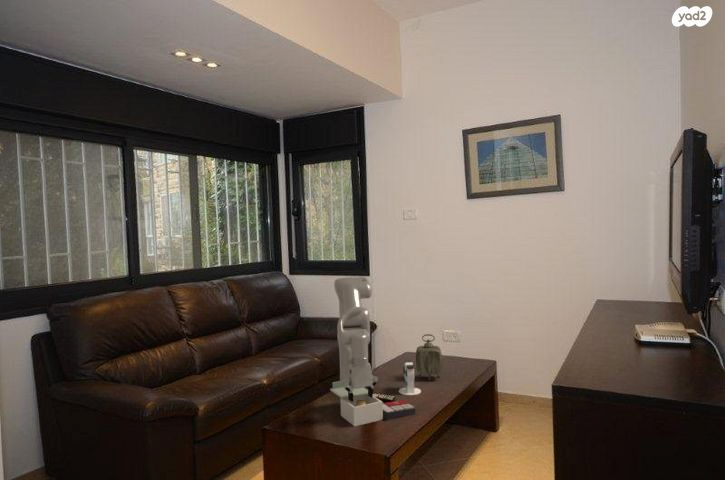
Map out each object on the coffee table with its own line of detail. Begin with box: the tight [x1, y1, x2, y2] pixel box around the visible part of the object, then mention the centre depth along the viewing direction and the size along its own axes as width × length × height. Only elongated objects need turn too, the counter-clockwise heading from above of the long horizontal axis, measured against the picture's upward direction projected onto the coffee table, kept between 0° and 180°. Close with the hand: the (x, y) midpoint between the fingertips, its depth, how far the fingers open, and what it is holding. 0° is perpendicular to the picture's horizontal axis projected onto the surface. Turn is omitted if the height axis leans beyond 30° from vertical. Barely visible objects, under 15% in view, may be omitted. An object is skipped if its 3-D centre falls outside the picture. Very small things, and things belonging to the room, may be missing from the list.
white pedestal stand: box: [398, 359, 422, 396], centre depth 247 cm, size 12×11×15 cm
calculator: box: [382, 400, 416, 421], centre depth 218 cm, size 11×4×15 cm
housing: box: [339, 395, 384, 427], centre depth 214 cm, size 14×14×8 cm
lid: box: [329, 380, 368, 399], centre depth 224 cm, size 14×14×4 cm
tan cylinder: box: [357, 400, 366, 406], centre depth 214 cm, size 4×4×6 cm
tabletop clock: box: [415, 333, 443, 381], centre depth 266 cm, size 14×9×25 cm, turn 84°
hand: (360, 398), depth 215 cm, fingers open, 9 cm apart
